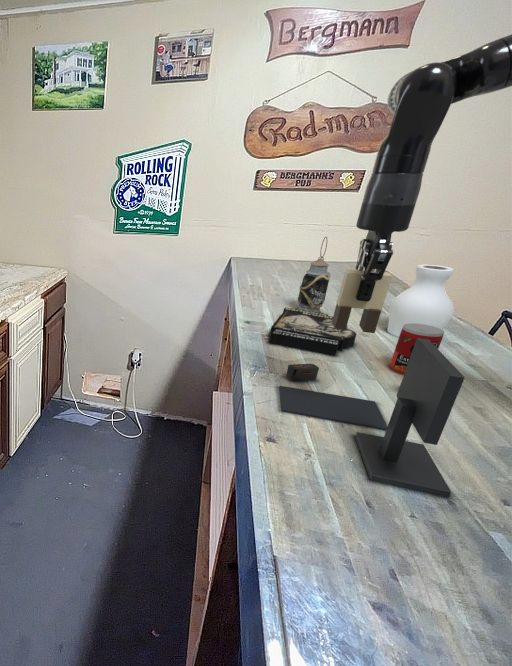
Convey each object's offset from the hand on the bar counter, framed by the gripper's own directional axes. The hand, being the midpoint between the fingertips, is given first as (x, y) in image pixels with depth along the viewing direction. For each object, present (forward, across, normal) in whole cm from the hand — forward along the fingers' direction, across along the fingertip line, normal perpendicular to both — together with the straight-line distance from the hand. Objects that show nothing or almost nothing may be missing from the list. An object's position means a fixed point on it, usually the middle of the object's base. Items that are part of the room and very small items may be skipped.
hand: (360, 297), depth 86 cm
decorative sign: (+24, +48, -1) cm, 54 cm away
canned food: (+24, +29, -20) cm, 42 cm away
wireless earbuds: (+24, +14, +4) cm, 28 cm away
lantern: (+24, +75, -2) cm, 79 cm away
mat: (+24, 0, 0) cm, 24 cm away
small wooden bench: (+6, 0, 0) cm, 6 cm away
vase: (+24, +61, -28) cm, 71 cm away
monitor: (+24, -18, -8) cm, 31 cm away
